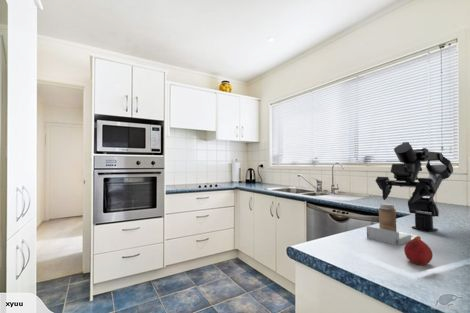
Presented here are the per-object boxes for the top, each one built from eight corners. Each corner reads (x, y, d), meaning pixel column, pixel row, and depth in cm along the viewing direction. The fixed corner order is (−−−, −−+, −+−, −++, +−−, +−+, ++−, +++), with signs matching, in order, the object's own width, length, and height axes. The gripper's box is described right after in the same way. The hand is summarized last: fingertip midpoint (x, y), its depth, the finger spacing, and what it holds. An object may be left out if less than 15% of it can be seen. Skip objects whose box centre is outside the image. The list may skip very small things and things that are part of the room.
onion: (421, 272, 56) (420, 240, 57) (399, 263, 62) (398, 233, 62) (438, 269, 58) (437, 238, 58) (415, 260, 63) (414, 232, 64)
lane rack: (390, 232, 91) (390, 220, 91) (420, 239, 82) (420, 225, 82) (367, 239, 82) (366, 225, 82) (398, 248, 73) (397, 232, 74)
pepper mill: (386, 235, 83) (384, 203, 84) (400, 239, 78) (398, 205, 79) (376, 237, 81) (375, 204, 82) (390, 241, 77) (389, 206, 77)
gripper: (377, 157, 96) (363, 184, 90) (432, 155, 80) (419, 188, 74) (387, 175, 100) (374, 202, 93) (441, 177, 84) (430, 210, 77)
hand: (396, 200), depth 84 cm, fingers open, 9 cm apart
